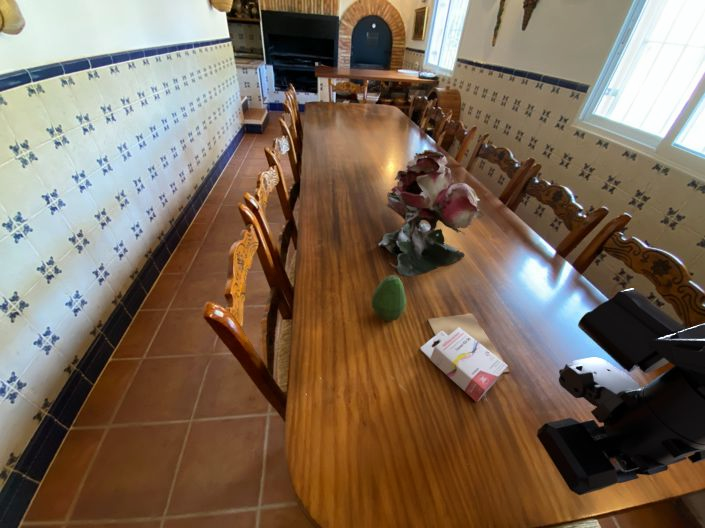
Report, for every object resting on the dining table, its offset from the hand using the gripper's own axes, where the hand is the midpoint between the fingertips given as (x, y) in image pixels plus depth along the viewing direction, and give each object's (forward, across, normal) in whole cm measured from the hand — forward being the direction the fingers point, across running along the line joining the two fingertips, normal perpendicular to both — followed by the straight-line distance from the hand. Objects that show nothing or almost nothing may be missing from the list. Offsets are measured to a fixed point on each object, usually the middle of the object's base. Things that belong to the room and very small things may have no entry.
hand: (585, 465), depth 38 cm
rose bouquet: (+14, -5, -66) cm, 67 cm away
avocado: (+14, +14, -38) cm, 43 cm away
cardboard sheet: (+13, -2, -27) cm, 30 cm away
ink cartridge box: (+10, -1, -16) cm, 19 cm away
